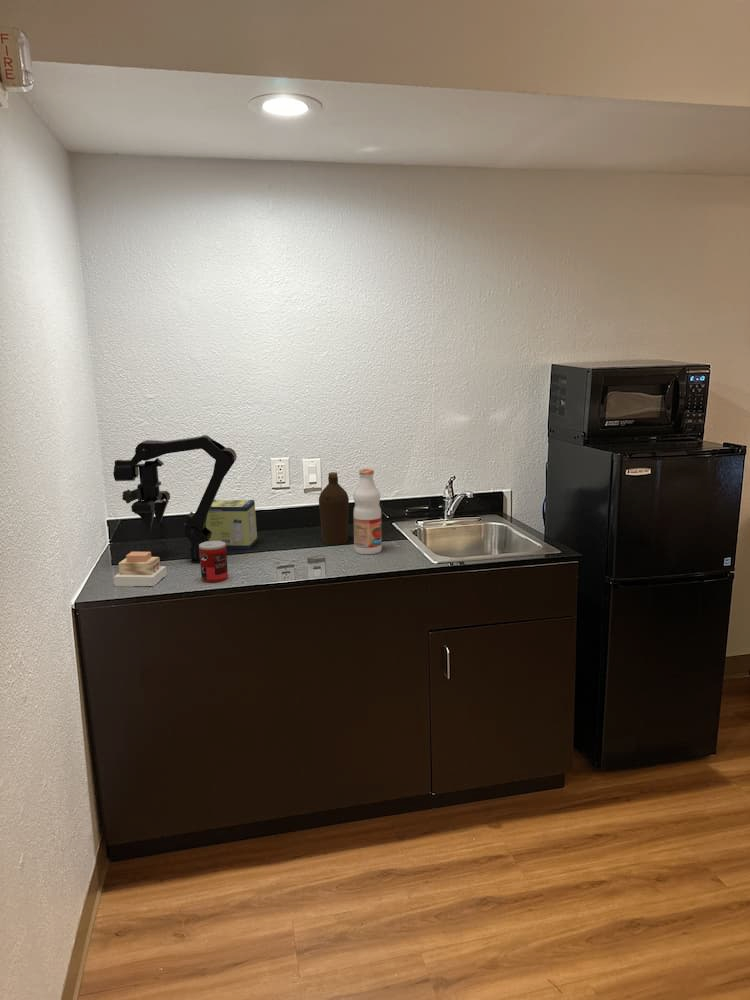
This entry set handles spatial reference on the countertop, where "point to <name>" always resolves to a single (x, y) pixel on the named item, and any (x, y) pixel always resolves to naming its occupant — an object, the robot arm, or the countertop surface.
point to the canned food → (213, 561)
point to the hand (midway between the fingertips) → (153, 526)
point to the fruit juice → (367, 515)
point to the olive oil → (334, 512)
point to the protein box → (233, 523)
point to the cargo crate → (138, 556)
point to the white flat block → (140, 578)
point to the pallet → (139, 567)
